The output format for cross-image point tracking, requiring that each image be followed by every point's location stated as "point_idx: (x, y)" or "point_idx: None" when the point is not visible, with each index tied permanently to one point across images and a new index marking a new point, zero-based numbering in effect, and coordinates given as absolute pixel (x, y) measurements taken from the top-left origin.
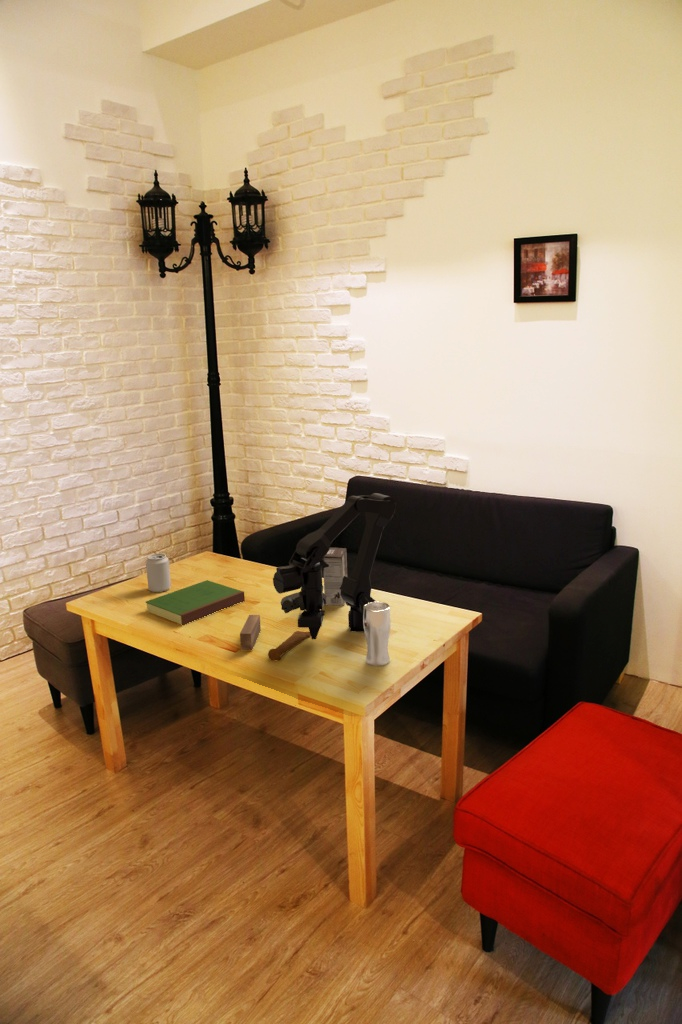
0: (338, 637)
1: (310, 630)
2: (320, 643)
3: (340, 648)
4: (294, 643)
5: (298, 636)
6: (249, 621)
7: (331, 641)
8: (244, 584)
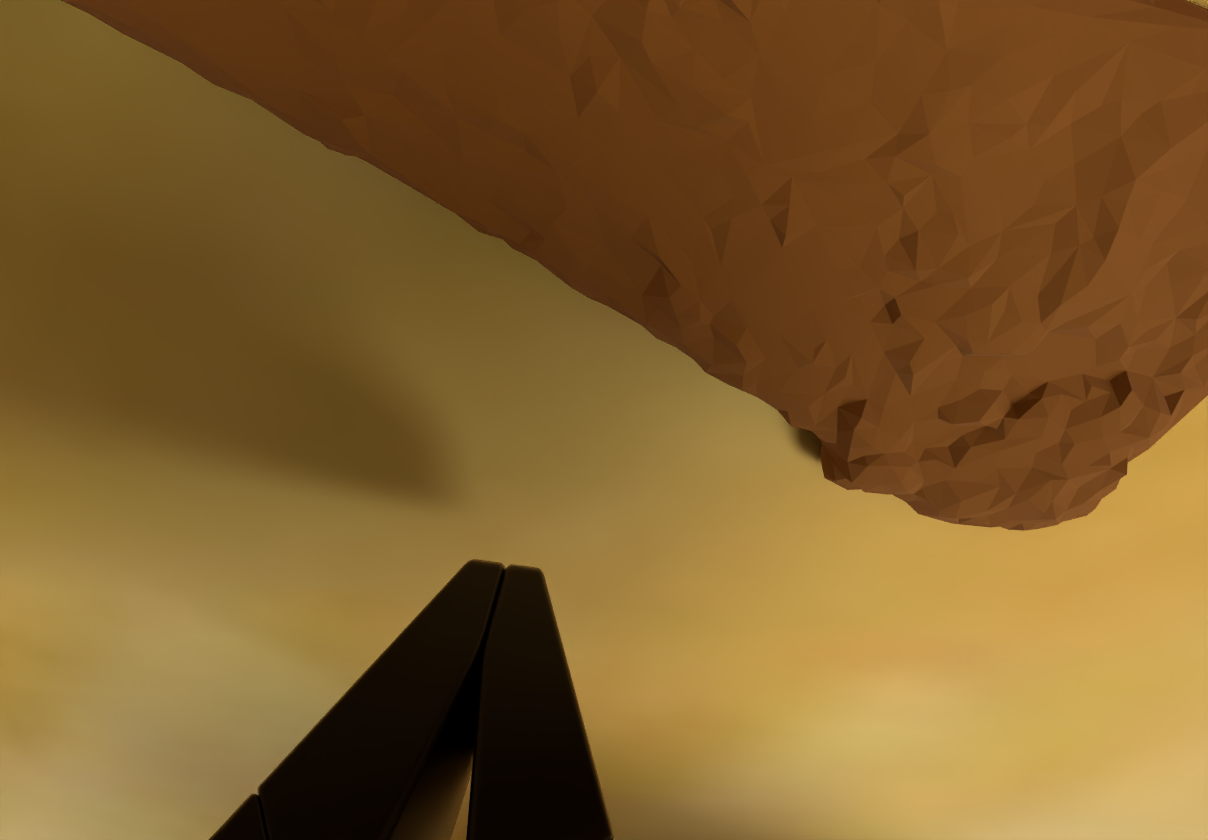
0: (692, 822)
1: (283, 789)
2: None
3: None
4: (233, 88)
5: (780, 231)
6: None
7: None
8: None
